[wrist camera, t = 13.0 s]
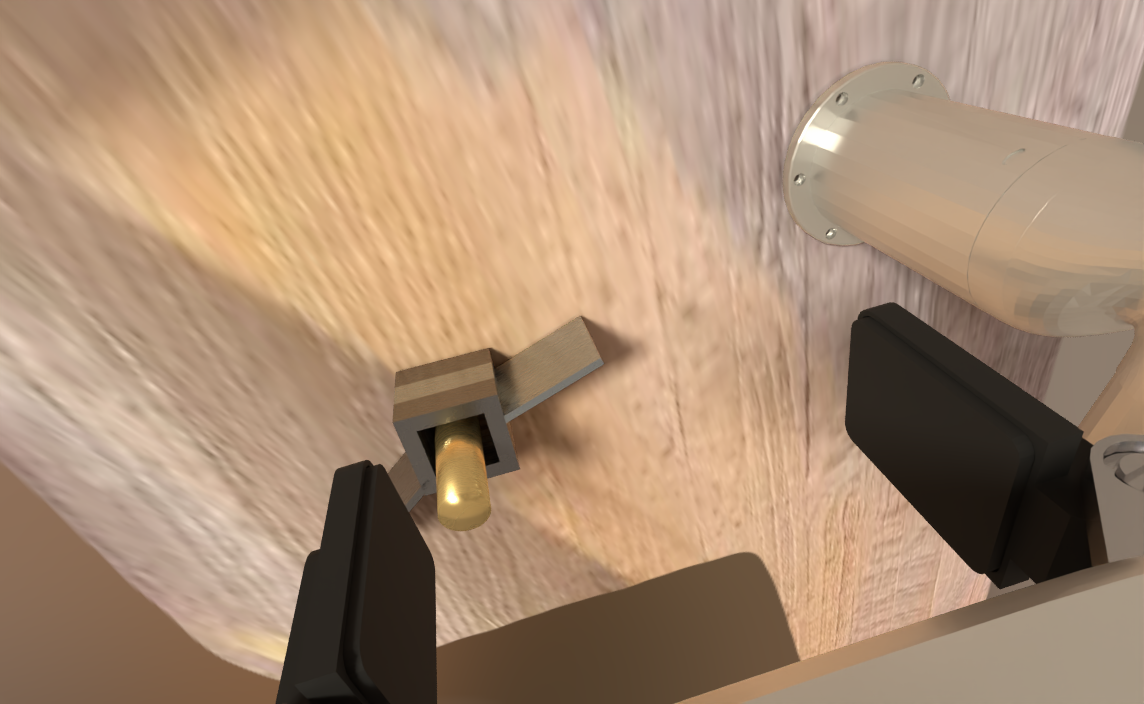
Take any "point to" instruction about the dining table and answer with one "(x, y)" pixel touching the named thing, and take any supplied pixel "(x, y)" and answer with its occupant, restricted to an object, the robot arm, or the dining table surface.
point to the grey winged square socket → (481, 401)
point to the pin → (461, 475)
